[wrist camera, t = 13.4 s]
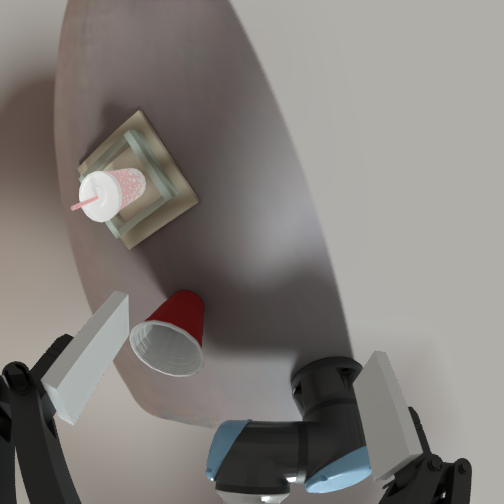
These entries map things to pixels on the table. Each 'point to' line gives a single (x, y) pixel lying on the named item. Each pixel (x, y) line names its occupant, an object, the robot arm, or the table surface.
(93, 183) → the beverage cup
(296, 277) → the table surface
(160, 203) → the cup stand
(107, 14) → the table surface
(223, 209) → the table surface
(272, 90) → the table surface
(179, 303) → the plastic cup
